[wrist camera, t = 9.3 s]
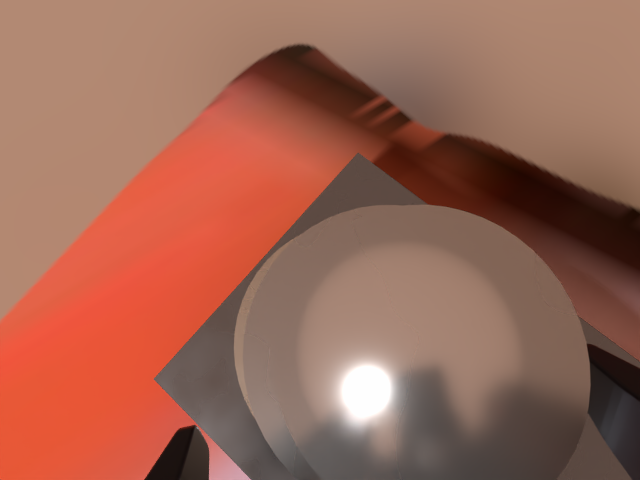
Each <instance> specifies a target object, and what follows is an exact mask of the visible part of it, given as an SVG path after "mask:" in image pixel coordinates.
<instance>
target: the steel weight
mask: <svg viewBox="0 0 640 480" xmlns="http://www.w3.org/2000/svg"><path fill="white" fill-rule="evenodd" d="M243 367H244V379H245V384H246V389H247V394H248V399H249V402H250V405H251V408H252V411H253V414H254V417H255V420H256V422H257V424H258V426H259V428H260V430H261V432H262V434H263V436H264V438H265V440H266V441H267V443H268V444H269V446H270V447H271V449H272V450H273V452H274V453H275V455H276V456H277V458H278V459H279V460H280V461H281V462H282V464H283V465H284V466H285V467H286V468H287V469H288V471H289V472H290V473H291V474H292V475H293V476H294V477H295V478H296V479H298V480H556V479H557V478H558V477H559V475H560V474H561V473H562V472H563V470H564V469H565V467H566V466H567V464H568V462H569V460H570V458H571V457H572V455H573V453H574V451H575V450H576V447H577V445H578V442H579V439H580V437H581V434H582V432H583V429H584V425H585V420H586V416H587V412H588V408H589V397H590V386H591V383H590V362H589V356H588V350H587V344H586V340H585V336H584V333H583V330H582V326H581V323H580V320H579V318H578V315H577V313H576V311H575V308H574V306H573V304H572V302H571V300H570V298H569V296H568V295H567V293H566V291H565V289H564V288H563V286H562V284H561V283H560V281H559V280H558V279H557V277H556V276H555V275H554V273H553V272H552V271H551V269H550V268H549V267H548V265H547V264H546V263H545V262H544V261H543V260H542V259H541V258H540V257H539V256H538V255H537V254H536V253H535V252H534V251H533V250H532V249H531V248H530V247H528V246H527V245H526V244H525V243H524V242H522V241H521V240H520V239H519V238H518V237H516V236H515V235H513V234H511V233H510V232H508V231H507V230H505V229H504V228H502V227H501V226H499V225H497V224H495V223H493V222H491V221H489V220H487V219H485V218H483V217H480V216H477V215H474V214H472V213H469V212H466V211H462V210H458V209H454V208H449V207H444V206H435V205H404V206H401V205H375V206H368V207H361V208H356V209H353V210H349V211H345V212H342V213H339V214H337V215H334V216H332V217H330V218H327V219H325V220H323V221H321V222H320V223H318V224H316V225H314V226H312V227H311V228H309V229H308V230H306V231H305V232H304V233H302V234H301V235H300V236H298V237H297V238H296V239H295V240H294V241H293V242H292V243H290V244H289V245H288V246H287V247H286V248H285V249H284V250H283V251H282V252H281V254H280V255H279V256H278V257H277V259H276V260H275V261H274V262H273V264H272V265H271V266H270V268H269V269H268V271H267V273H266V274H265V276H264V278H263V279H262V281H261V283H260V285H259V287H258V289H257V291H256V294H255V296H254V298H253V301H252V304H251V307H250V311H249V314H248V317H247V322H246V328H245V333H244V343H243Z"/></svg>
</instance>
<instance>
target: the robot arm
mask: <svg viewBox="0 0 640 480" xmlns="http://www.w3.org/2000/svg"><path fill="white" fill-rule="evenodd" d="M587 350H588V356H589V362H590V383H591V386H590V397H589V408H588V414H589V415H590V417H591V419H592V421H593V422H594V424H595V426H596V427H597V429H598V431H599V432H600V434H601V436H602V437H603V439H604V441H605V442H606V444H607V445H608V447H609V448H610V449H611V451H612V452H613V454H614V455H615V457H616V458H617V459H618V461H619V462H620V463H621V465H622V466H623V468H624V469H625V470H626V472H627V473H628V475H629V476H630V477H631V479H632V480H640V368H639V367H637V366H635V365H633V364H631V363H629V362H627V361H625V360H623V359H621V358H619V357H617V356H615V355H613V354H611V353H609V352H607V351H605V350H603V349H601V348H599V347H597V346H595V345H592V344H587ZM144 480H209V448H208V445H207V443H206V441H205V439H204V437H203V435H202V433H201V431H200V430H199V428H198V427H197V426H196V425H192V426H188V427H183V428H180V429H179V430H177V432H176V433H175V434H174V436H173V437H172V439H171V440H170V442H169V443H168V445H167V446H166V448H165V449H164V451H163V452H162V454H161V455H160V457H159V458H158V460H157V461H156V463H155V464H154V466H153V467H152V469H151V470H150V472H149V473H148V475H147V476H146V478H145V479H144Z"/></svg>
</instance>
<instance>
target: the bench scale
mask: <svg viewBox="0 0 640 480" xmlns="http://www.w3.org/2000/svg"><path fill="white" fill-rule="evenodd" d="M375 205H401V206H404V205H428V204H427V203H425V202H424V201H423V200H421V199H420V198H419V197H417V196H416V195H415V194H413V193H412V192H411V191H409V190H408V189H406V188H405V187H404V186H402V185H401V184H400V183H398V182H397V181H396V180H394V179H393V178H392V177H390V176H389V175H388V174H386V173H385V172H384V171H382V170H381V169H380V168H378V167H377V166H376V165H374V164H373V163H372V162H370V161H369V160H367V159H366V158H365V157H363V156H362V155H361V154H359V153H357V154H356V156H355V157H354V158H353V159H352V160H351V161H350V162H349V163H348V164H347V166H346V167H345V168H344V169H343V170H342V171H341V172H340V173H339V174H338V175H337V177H336V178H335V179H334V180H333V181H332V182H331V183H330V184H329V185H328V187H327V188H326V189H325V190H324V191H323V192H322V193H321V194H320V195H319V197H318V198H317V199H316V200H315V201H314V202H313V203H312V204H311V205H310V207H309V208H308V209H307V210H306V211H305V212H304V213H303V214H302V215H301V216H300V218H299V219H298V220H297V221H296V222H295V223H294V224H293V225H292V226H291V228H290V229H289V230H288V231H287V232H286V233H285V234H284V235H283V236H282V238H281V239H280V240H279V241H278V242H277V243H276V244H275V245H274V246H273V248H272V249H271V250H270V251H269V252H268V253H267V254H266V255H265V256H264V257H263V259H262V260H261V261H260V262H259V263H258V264H257V265H256V266H255V267H254V269H253V270H252V271H251V272H250V273H249V274H248V275H247V276H246V277H245V279H244V280H243V281H242V282H241V283H240V284H239V285H238V286H237V287H236V289H235V290H234V291H233V292H232V293H231V294H230V295H229V296H228V297H227V298H226V300H225V301H224V302H223V303H222V304H221V305H220V306H219V307H218V308H217V310H216V311H215V312H214V313H213V314H212V315H211V316H210V317H209V318H208V320H207V321H206V322H205V323H204V324H203V325H202V326H201V327H200V328H199V330H198V331H197V332H196V333H195V334H194V335H193V336H192V337H191V338H190V339H189V341H188V342H187V343H186V344H185V345H184V346H183V347H182V348H181V349H180V351H179V352H178V353H177V354H176V355H175V356H174V357H173V358H172V359H171V361H170V362H169V363H168V364H167V365H166V366H165V367H164V368H163V369H162V371H161V372H160V373H159V374H158V375H157V376H156V377H155V378H154V380H155V381H156V382H157V383H158V384H159V385H160V386H161V387H162V388H163V389H164V390H165V391H166V392H167V393H168V394H169V395H170V396H171V397H172V398H173V399H174V400H175V402H176V403H177V404H178V405H179V406H180V407H181V408H182V409H183V410H184V411H185V412H186V413H187V414H188V415H189V416H190V417H191V418H192V419H193V420H194V421H195V422H196V423H197V424H198V425H199V426H200V427H201V428H202V429H203V430H204V431H205V432H206V433H207V434H208V436H209V437H210V438H211V439H212V440H213V441H214V442H215V443H216V444H217V445H218V446H219V447H220V448H221V449H222V450H223V451H224V452H225V453H226V454H227V455H228V456H229V457H230V458H231V459H232V460H233V461H234V462H235V463H236V464H237V465H238V466H239V467H240V468H241V470H242V471H243V472H244V473H245V474H246V475H247V476H248V477H249V478H250V479H251V480H298V479H296V478H295V477H294V476H293V475H292V474H291V473H290V472H289V471H288V469H287V468H286V467H285V466H284V465H283V464H282V462H281V461H280V460H279V459H278V458H277V456H276V455H275V453H274V452H273V450H272V449H271V447H270V446H269V444H268V443H267V441H266V440H265V438H264V436H263V434H262V432H261V430H260V428H259V426H258V424H257V422H256V420H255V417H254V414H253V411H252V408H251V405H250V402H249V399H248V394H247V389H246V384H245V379H244V367H243V343H244V333H245V328H246V322H247V317H248V314H249V311H250V307H251V304H252V301H253V298H254V296H255V294H256V291H257V289H258V287H259V285H260V283H261V281H262V279H263V278H264V276H265V274H266V273H267V271H268V269H269V268H270V266H271V265H272V264H273V262H274V261H275V260H276V259H277V257H278V256H279V255H280V254H281V252H282V251H283V250H284V249H285V248H286V247H287V246H288V245H289V244H290V243H292V242H293V241H294V240H295V239H296V238H297V237H298V236H300V235H301V234H302V233H304V232H305V231H306V230H308V229H309V228H311V227H312V226H314V225H316V224H318V223H320V222H321V221H323V220H325V219H327V218H330V217H332V216H334V215H337V214H339V213H342V212H345V211H349V210H353V209H356V208H361V207H368V206H375ZM578 318H579V320H580V323H581V326H582V330H583V333H584V336H585V340H586V344H592V345H595V346H597V347H599V348H601V349H603V350H605V351H607V352H609V353H611V354H613V355H615V356H617V357H619V358H621V359H623V360H625V361H627V362H629V363H631V364H633V365H635V366H637V367H639V368H640V362H639V361H638V360H637V359H635V358H634V357H633V356H631V355H630V354H628V353H627V352H626V351H624V350H623V349H622V348H620V347H619V346H618V345H616V344H615V343H614V342H612V341H611V340H610V339H608V338H607V337H606V336H604V335H603V334H602V333H600V332H599V331H598V330H596V329H595V328H593V327H592V326H591V325H589V324H588V323H587V322H585V321H584V320H583V319H581V318H580V317H579V316H578ZM556 480H632V479H631V477H630V476H629V475H628V473H627V472H626V470H625V469H624V468H623V466H622V465H621V463H620V462H619V461H618V459H617V458H616V457H615V455H614V454H613V452H612V451H611V449H610V448H609V447H608V445H607V444H606V442H605V441H604V439H603V437H602V436H601V434H600V432H599V431H598V429H597V427H596V426H595V424H594V422H593V421H592V419H591V417H590V415H589V414H588V412H587V416H586V420H585V425H584V429H583V432H582V434H581V437H580V439H579V442H578V445H577V447H576V450H575V451H574V453H573V455H572V457H571V458H570V460H569V462H568V464H567V466H566V467H565V469H564V470H563V472H562V473H561V474H560V475H559V477H558V478H557V479H556Z"/></svg>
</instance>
